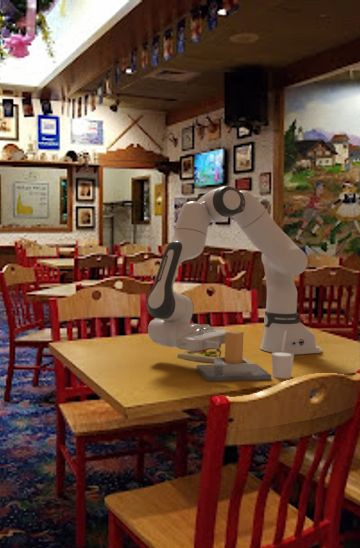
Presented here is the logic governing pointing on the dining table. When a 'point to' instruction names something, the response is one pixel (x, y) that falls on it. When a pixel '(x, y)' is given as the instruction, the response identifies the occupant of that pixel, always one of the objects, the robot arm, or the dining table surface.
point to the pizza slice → (201, 355)
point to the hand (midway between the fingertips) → (227, 343)
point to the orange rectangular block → (234, 347)
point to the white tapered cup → (282, 364)
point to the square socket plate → (232, 371)
